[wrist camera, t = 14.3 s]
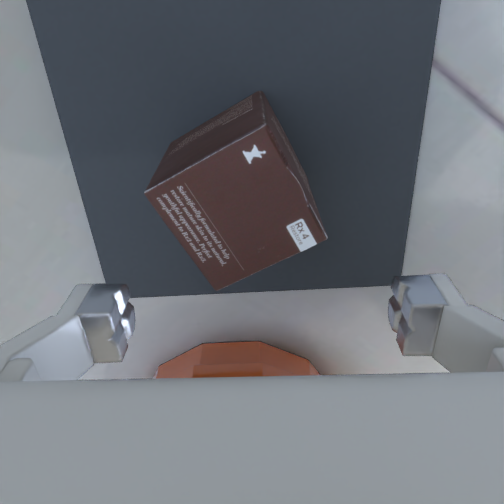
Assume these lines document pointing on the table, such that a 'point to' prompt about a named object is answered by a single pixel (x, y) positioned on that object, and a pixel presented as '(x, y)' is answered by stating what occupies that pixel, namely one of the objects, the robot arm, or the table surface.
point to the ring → (235, 362)
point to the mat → (228, 94)
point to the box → (236, 194)
